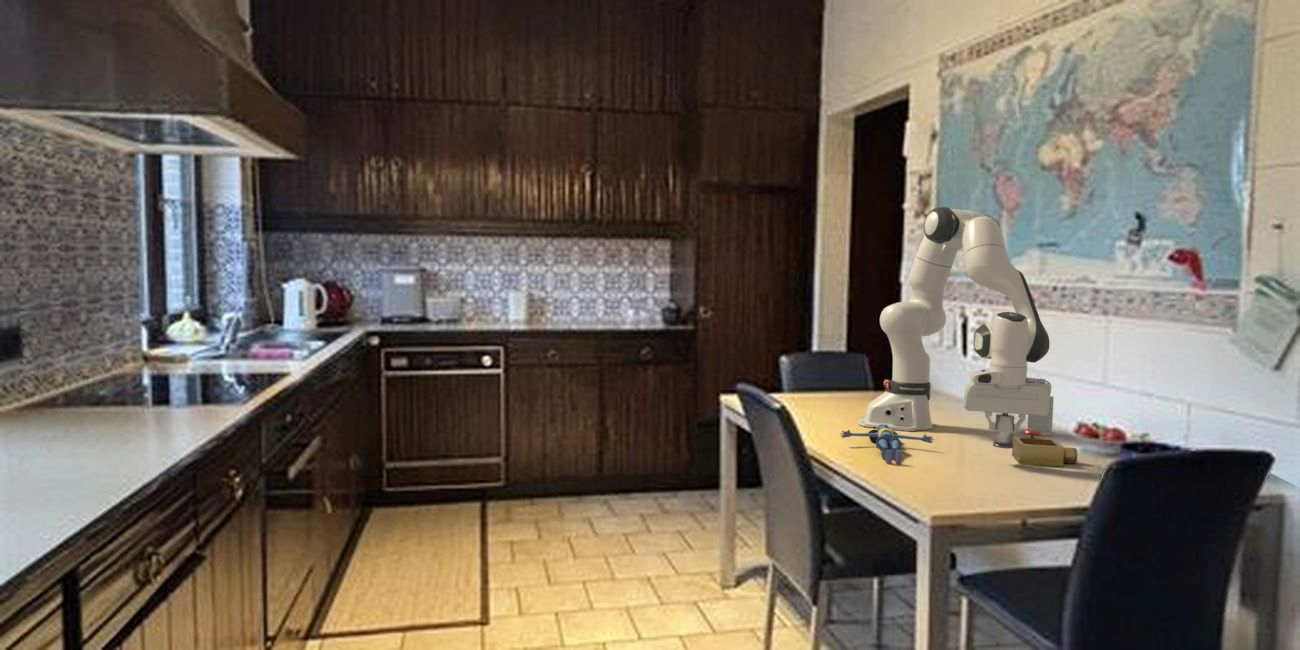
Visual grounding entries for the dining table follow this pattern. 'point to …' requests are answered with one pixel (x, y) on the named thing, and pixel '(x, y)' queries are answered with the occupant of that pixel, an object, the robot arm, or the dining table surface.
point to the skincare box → (1042, 420)
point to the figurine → (887, 442)
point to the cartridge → (1004, 431)
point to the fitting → (1041, 451)
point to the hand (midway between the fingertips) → (1004, 430)
